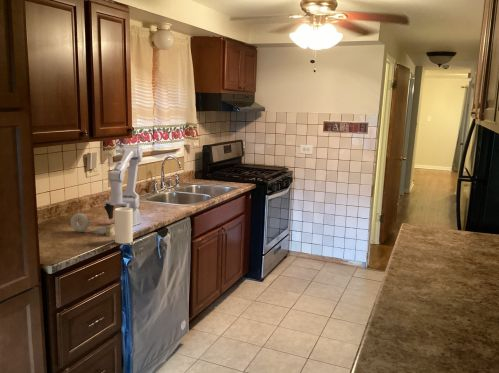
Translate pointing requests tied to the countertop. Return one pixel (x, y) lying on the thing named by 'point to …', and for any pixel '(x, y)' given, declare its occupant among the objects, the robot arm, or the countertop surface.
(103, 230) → the mat
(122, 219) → the cup
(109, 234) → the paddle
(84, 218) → the donut
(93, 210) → the countertop surface
